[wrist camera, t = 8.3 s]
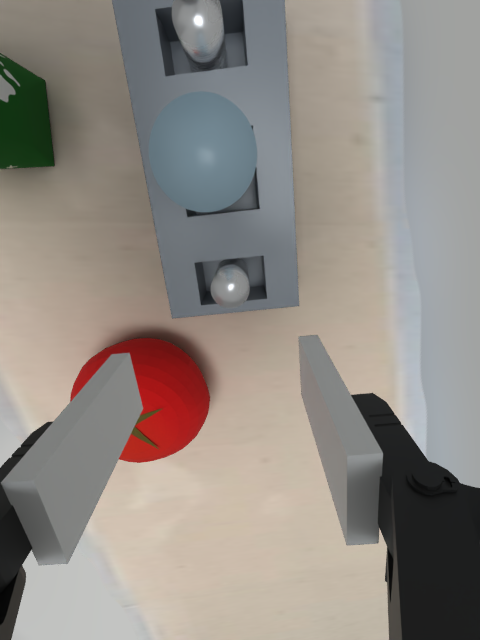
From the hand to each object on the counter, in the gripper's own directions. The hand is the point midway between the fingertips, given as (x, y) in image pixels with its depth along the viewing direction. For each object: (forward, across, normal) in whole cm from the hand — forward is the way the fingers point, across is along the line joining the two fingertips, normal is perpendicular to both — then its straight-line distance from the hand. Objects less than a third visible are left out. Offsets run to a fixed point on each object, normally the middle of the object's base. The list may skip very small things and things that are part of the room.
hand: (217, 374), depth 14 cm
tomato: (+23, -11, -12) cm, 28 cm away
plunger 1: (+21, 0, +18) cm, 28 cm away
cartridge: (+22, 0, +9) cm, 24 cm away
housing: (+23, 0, +9) cm, 25 cm away
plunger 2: (+21, 0, 0) cm, 21 cm away
